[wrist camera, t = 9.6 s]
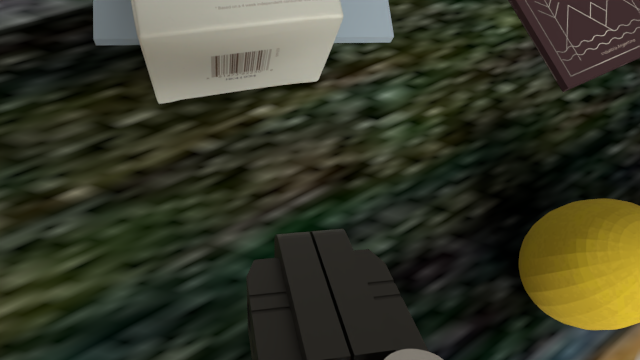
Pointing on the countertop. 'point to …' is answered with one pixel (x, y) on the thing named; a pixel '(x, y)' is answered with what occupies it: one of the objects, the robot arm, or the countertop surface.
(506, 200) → the countertop surface
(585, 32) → the chocolate bar
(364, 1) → the flat blue-gray panel
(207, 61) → the small box
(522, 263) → the lemon
